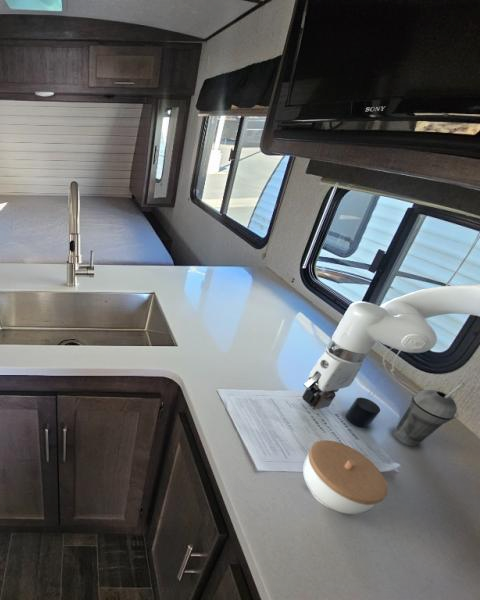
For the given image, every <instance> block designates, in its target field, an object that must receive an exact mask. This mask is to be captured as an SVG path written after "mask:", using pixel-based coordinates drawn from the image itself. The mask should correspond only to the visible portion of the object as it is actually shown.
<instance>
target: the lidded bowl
mask: <svg viewBox="0 0 480 600" xmlns="http://www.w3.org/2000/svg"><path fill="white" fill-rule="evenodd" d="M311 445H312V446H311V447H310V449H309V451H308V453H307V454H306V457H305V459H304V461H303V466H302V473H303V478H304V481H305V484H306V486H307V488H308V490H309V491H310V493H311V494H312V496H313V498H315V499H316V501H318V502H319V504H321V505H322V506H324V507H325V508H327V509H330V510H332V511H335V512H338V513H341V514H346V515H359V514H360V515H361V514H364V513H367V512H369V511H370V510H371V509H373V508H375V507H376V506H377V505H378V504H379V503H381V502H383V500H384V499H386V497H387V495H388V492H389V491H388V488H389V487H388V483H387V481H386V479H385V477H384V474H382V472H381V470H380V469H379V468H378V467H377V465H376V464H374V463H373V461H371V460H370V459H369V457H366V456H365V455H364V454H362V452H360V451H358V450H357V449H355V448H353V447H351V446H350V445H347V444H344V443H342V442H339V441H334V440H329V439H328V440H327V439H326V440H319V441H316V442H315V443H313V444H311Z"/></svg>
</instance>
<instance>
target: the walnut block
mask: <svg viewBox="0 0 480 600" xmlns="http://www.w3.org/2000/svg"><path fill="white" fill-rule="evenodd" d="M314 388H315V389H316V390H318V387H317V386H316V385H314ZM306 391H307V388H305V391H304V392H303V394H302V396H301V398H302V399H303V396H304V395H305V393H306ZM319 396H320V397H319V399H318V401H317V402H316V404H315V406H313V407H312V408H313V409H314V410H319V409H324V408H329V406H330V405H331V403H332V402H333V401H334V399H335V397H336V393H335V394H334V393H333V392H332V391H322V392H321V393H320V394H319Z"/></svg>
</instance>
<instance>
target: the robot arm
mask: <svg viewBox="0 0 480 600" xmlns="http://www.w3.org/2000/svg"><path fill="white" fill-rule="evenodd" d="M451 314H453V315H454V314H459V315H460V314H461V315H470V316H477V317H480V283H469V284H468V283H467V284H465V283H464V284H453V285H442V286H434V287H427V288H423V289H419V290H416V291H413V292H409V293H406V294H404V295H401V296H398V297H395V298H393V299H391V300H388V301H387V302H384V303H383V304H381V305H377V304H375V303H372V302H368V301H355V302H352V303H351V304H349V306H348V308H347V309H346V310H345V313H344V314H343V316H342V318H341V320H340V322H339V323H338V325H337V327H336V329H335V330H334V331H333V334H332V336H331V338H330V340H329V341H328V343H327V345H326V347H325V351H324V352H323V353H322V355H321V356H320V357H319V358H318V359H317V361H316V362H315V364H314V366H313V367H312V368H311V371H310V373H309V374H308V380H307V381H306V382H305V383H304V384H303V387H305V389H307V391H306V390H305V391H306V393H305V395H304V396H303V395H302V396H303V398H302V399H303V401H304V402H305V403H307V404H308V405H309V406H310V407H311V408H313V406H315V404H316V402H317V401H318V399H319V397H320V396H319V394H320V393H321V392H322V391H332V392H333V393H334V394H335V395H336V393H338V392H339V391H340V389H345V388H348V387H350V386H351V385H352V384H353V382H354V381H355V379H356V377H357V375H358V374H359V372H360V370H361V368H362V366H363V363H364V360H365V359H366V357H367V355H368V354H369V352H370V351H371V349H372V348H373V347H374V345H375V343H376V342H377V343H380V344H382V345H385V346H388V347H390V348H392V349H394V350H398V351H401V352H405V353H410V354H421V353H426V352H428V351H430V350H432V349H433V348H434V347H435V346H436V344H437V342H438V336H437V333H436V331H435V330H434V328H433V327H432V326H431V325H430V324H429V322H428V321H427V319H429V318H432V317H433V318H434V317H436V316H442V315H451ZM314 385H316V386H317V387H318V390H316V389H315V388H314Z"/></svg>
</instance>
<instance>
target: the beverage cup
mask: <svg viewBox="0 0 480 600" xmlns="http://www.w3.org/2000/svg"><path fill="white" fill-rule="evenodd" d="M465 385H466V383H464V382H461V383H459V384H458V385H457V386H456V387H455V388H454V389H452V390H451V391H449V393H445V392H444V391H441V390H436V389H425V390H421V391H418V392H417V393H416V394H415V395H413V396H412V397H411V400H410V403H409V406H408V408H407V410H406V411H405V412H404V414H403V416H402V417H401V418H400V421H399V422H398V424H397V425H396V427H395V429H394V430H393V435H394V437H395V438H396V439H397V440H398V441H399V442H400V443H402V444H404V445H407V446H410V447H415V446H417V445H419V444H420V443H422V442H423V441H424V440H425V439H427V438H428V437H429V436H431V435H432V434H433V433H434V432H435V431H437V430H438V429H439V428H440V427H441V426H443V425H444V424H447V423H449V422H450V421H451V420H453V419H455V416H456V414H457V411H458V406H457V404H456V401H455V400H454V399H453V397H451V396H453V395H454V394H455V393H457V391H459V390H460V389H461V388H463V386H465Z"/></svg>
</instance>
